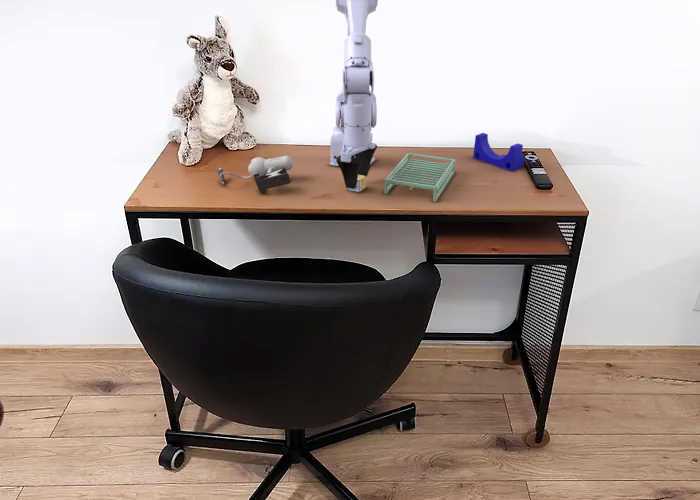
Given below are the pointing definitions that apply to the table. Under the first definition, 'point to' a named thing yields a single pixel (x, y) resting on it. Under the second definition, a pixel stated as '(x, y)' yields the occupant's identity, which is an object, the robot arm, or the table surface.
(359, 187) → the alphabet block
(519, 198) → the table surface
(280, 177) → the clip-on lamp
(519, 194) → the table surface
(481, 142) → the blue cradle bracket
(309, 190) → the table surface
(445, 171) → the rack
